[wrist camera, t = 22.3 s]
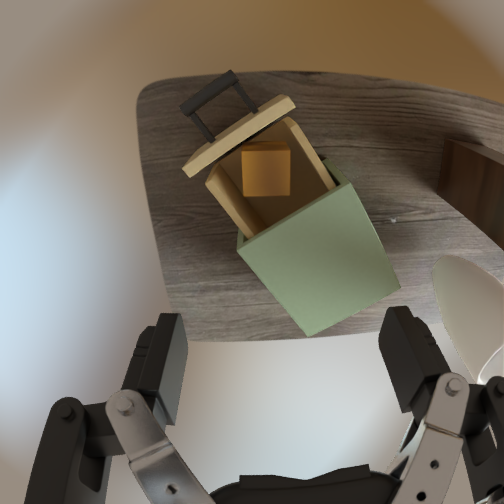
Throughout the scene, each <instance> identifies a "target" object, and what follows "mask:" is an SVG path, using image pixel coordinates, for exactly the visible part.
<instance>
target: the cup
mask: <svg viewBox="0 0 504 504" xmlns="http://www.w3.org/2000/svg"><path fill="white" fill-rule="evenodd" d="M432 279H433V286H434V291H435V296H436V300H437V305H438V307H439V310H440V314H441V317H442V320H443V323H444V326H445V328H446V330H447V332H448V334H449V336H450V338H451V340H452V342H453V344H454V346H455V348H456V350H457V353H458V354H459V356H460V358H461V359H462V361H463V363H464V364H465V366H466V367H467V369H468V371H469V373H470V375H471V376H472V378H473V380H474V382H475V383H476V384H481V385H486V383H487V382H488V380H489V379H490V378H491V377H493V376H502V377H504V284H503V283H502V282H501V281H500V280H499V279H498V278H497V277H495V276H494V275H492V274H491V273H489V272H488V271H486V270H485V269H483V268H481V267H480V266H478V265H477V264H474V263H472V262H470V261H467V260H465V259H463V258H460V257H457V256H453V255H445V256H443V257H441V258H440V259H439V260H438V261H437V262H436V263H435V265H434V266H433V270H432Z"/></svg>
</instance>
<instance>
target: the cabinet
mask: <svg viewBox="0 0 504 504" xmlns="http://www.w3.org/2000/svg"><path fill="white" fill-rule="evenodd" d="M321 162H322V164H323V165H324V167H325V169H326V170H327V172H328V174H329V175H330V177H331V179H332V180H333V182H334V184H335V186H336V188H334V189H332V190H331V191H329V192H327V193H325V194H324V195H322V196H320V197H319V198H317V199H315V200H314V201H312V202H310V203H309V204H307V205H305V206H304V207H302V208H300V209H299V210H297V211H295V212H294V213H292V214H290V215H289V216H287V217H285V218H284V219H282V220H280V221H279V222H277V223H275V224H274V225H272V226H270V227H269V228H267V229H265V230H264V231H262V232H261V233H259V234H257V235H256V236H254V237H252V238H251V239H249V240H248V239H247V237H246V236H245V235H244V233H243V232H242V231H241V230H240V228H238V239H237V250H236V251H237V252H238V253H239V254H240V256H241V257H242V258H243V259H244V261H245V262H246V263H247V264H248V265H249V267H250V268H251V269H252V270H253V271H254V273H255V274H256V275H257V276H258V278H259V279H260V280H261V281H262V282H263V284H264V285H265V286H266V287H267V288H268V290H269V291H270V292H271V293H272V294H273V296H274V297H275V298H276V299H277V300H278V302H279V303H280V304H281V305H282V306H283V308H284V309H285V310H286V311H287V312H288V314H289V315H290V316H291V317H292V318H293V320H294V321H295V322H296V323H297V324H298V326H299V327H300V328H301V329H302V330H303V332H304V333H305V334H306V335H307V336H308V337H309V336H311V335H313V334H315V333H317V332H319V331H321V330H323V329H326V328H328V327H330V326H332V325H334V324H336V323H337V322H339V321H341V320H343V319H345V318H347V317H349V316H351V315H353V314H355V313H357V312H359V311H361V310H362V309H364V308H366V307H368V306H370V305H372V304H374V303H375V302H377V301H379V300H381V299H383V298H384V297H386V296H388V295H390V294H391V293H393V292H395V291H397V290H398V289H400V288H401V286H400V284H399V281H398V279H397V277H396V274H395V272H394V270H393V268H392V265H391V263H390V261H389V259H388V256H387V254H386V252H385V250H384V248H383V246H382V243H381V241H380V239H379V237H378V235H377V233H376V231H375V229H374V227H373V225H372V223H371V221H370V219H369V217H368V215H367V213H366V211H365V209H364V207H363V205H362V203H361V201H360V199H359V197H358V196H357V194H356V192H355V190H354V188H353V186H352V184H351V183H350V182H349V181H348V179H347V178H346V177H345V176H344V175H343V174H342V173H341V172H340V171H339V170H338V168H337V167H336V166H335V165H334V164H333V163H332V162H331V161H330V160H329V159H328V158H326V159H325V160H323V161H321Z"/></svg>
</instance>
